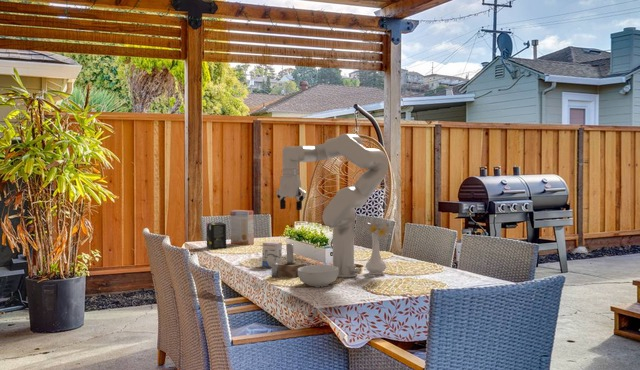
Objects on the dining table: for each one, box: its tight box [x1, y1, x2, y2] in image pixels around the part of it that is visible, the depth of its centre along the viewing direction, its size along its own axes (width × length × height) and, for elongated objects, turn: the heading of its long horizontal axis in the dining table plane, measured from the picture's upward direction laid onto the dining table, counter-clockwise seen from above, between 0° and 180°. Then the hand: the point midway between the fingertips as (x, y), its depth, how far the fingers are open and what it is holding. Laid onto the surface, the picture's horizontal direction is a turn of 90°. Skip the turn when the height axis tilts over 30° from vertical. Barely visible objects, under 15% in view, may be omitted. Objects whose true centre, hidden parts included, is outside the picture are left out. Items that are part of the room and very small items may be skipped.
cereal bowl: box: [297, 264, 339, 288], centre depth 244 cm, size 17×17×7 cm
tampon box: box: [206, 221, 227, 250], centre depth 352 cm, size 11×9×15 cm
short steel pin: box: [270, 263, 279, 278], centre depth 262 cm, size 3×3×6 cm
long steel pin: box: [286, 243, 295, 265], centre depth 266 cm, size 3×3×14 cm
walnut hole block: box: [278, 261, 305, 278], centre depth 266 cm, size 10×8×5 cm
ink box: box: [261, 240, 283, 268], centre depth 290 cm, size 9×5×12 cm, turn 62°
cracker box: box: [229, 209, 255, 246], centre depth 367 cm, size 14×6×21 cm, turn 58°
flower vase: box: [360, 217, 393, 276], centre depth 267 cm, size 13×18×25 cm
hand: (290, 209), depth 278 cm, fingers open, 9 cm apart
